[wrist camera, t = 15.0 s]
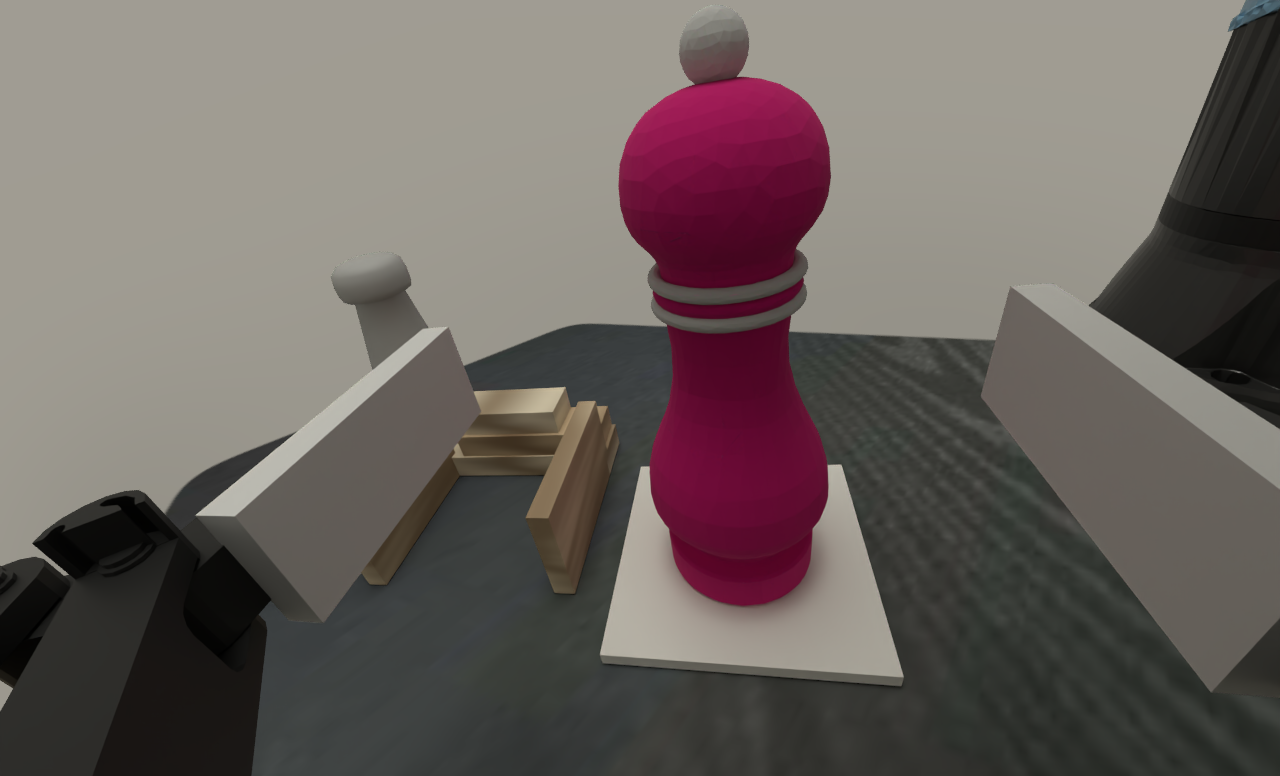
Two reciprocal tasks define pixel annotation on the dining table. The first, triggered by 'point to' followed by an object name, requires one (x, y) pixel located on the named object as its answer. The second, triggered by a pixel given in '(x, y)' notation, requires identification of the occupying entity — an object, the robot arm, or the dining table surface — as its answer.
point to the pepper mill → (730, 313)
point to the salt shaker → (379, 301)
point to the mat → (754, 608)
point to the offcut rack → (525, 445)
